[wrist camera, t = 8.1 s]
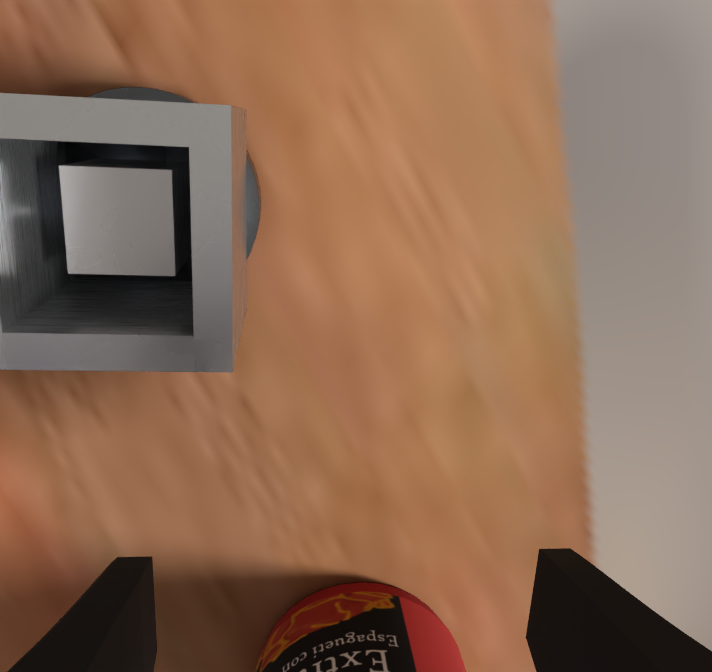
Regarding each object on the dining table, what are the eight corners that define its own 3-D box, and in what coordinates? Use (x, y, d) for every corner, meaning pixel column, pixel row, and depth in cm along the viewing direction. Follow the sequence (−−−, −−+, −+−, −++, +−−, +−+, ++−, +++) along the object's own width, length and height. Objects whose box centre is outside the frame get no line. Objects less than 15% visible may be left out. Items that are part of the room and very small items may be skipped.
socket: (48, 305, 18) (-35, 369, 14) (28, 98, 17) (-73, 89, 12) (246, 309, 19) (232, 372, 14) (246, 109, 17) (231, 105, 13)
